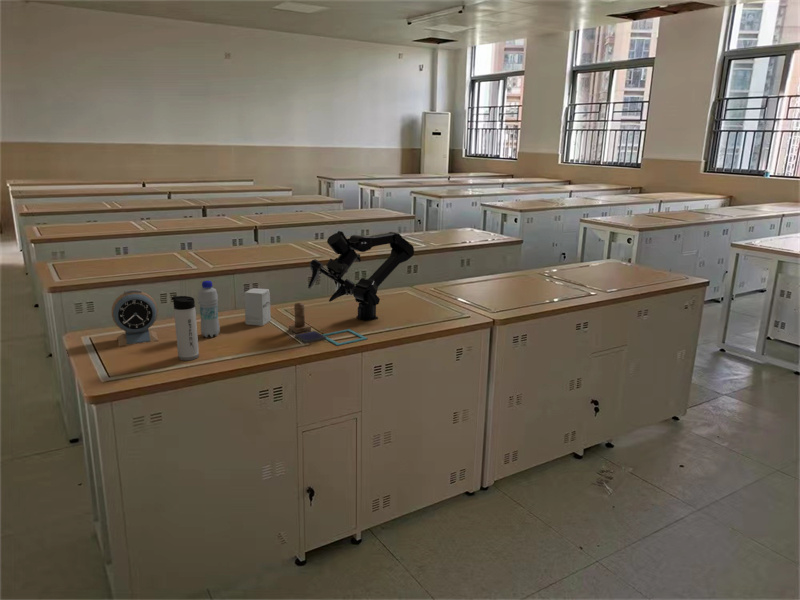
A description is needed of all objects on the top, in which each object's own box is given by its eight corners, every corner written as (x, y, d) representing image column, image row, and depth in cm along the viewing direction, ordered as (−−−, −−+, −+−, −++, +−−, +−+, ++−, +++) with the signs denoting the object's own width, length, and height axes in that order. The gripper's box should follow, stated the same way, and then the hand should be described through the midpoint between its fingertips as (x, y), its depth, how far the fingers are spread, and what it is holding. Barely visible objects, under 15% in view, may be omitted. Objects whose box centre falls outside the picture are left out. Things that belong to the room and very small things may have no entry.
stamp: (303, 326, 213) (302, 300, 210) (311, 331, 208) (310, 303, 206) (289, 329, 210) (288, 302, 207) (296, 333, 205) (295, 306, 202)
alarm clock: (115, 346, 189) (109, 295, 184) (114, 337, 197) (108, 288, 193) (161, 340, 196) (156, 290, 191) (158, 332, 204) (154, 284, 199)
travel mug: (180, 353, 184) (175, 294, 178) (201, 353, 184) (196, 294, 179) (174, 361, 178) (168, 299, 172) (196, 360, 178) (191, 299, 173)
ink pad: (315, 333, 206) (315, 330, 206) (325, 339, 200) (325, 336, 200) (295, 337, 201) (294, 334, 201) (305, 343, 195) (305, 340, 195)
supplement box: (263, 326, 213) (261, 293, 209) (245, 324, 214) (243, 292, 211) (271, 320, 220) (270, 288, 216) (253, 319, 221) (252, 287, 218)
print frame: (349, 329, 210) (349, 328, 210) (367, 339, 201) (367, 338, 201) (319, 336, 203) (319, 334, 203) (337, 345, 193) (337, 344, 193)
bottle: (224, 333, 203) (220, 279, 198) (212, 339, 197) (208, 283, 192) (208, 331, 206) (204, 277, 200) (196, 337, 199) (192, 281, 194)
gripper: (321, 239, 205) (295, 272, 199) (364, 265, 201) (338, 299, 196) (323, 253, 215) (299, 284, 210) (364, 278, 212) (340, 311, 206)
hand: (318, 294), depth 205 cm, fingers open, 9 cm apart
